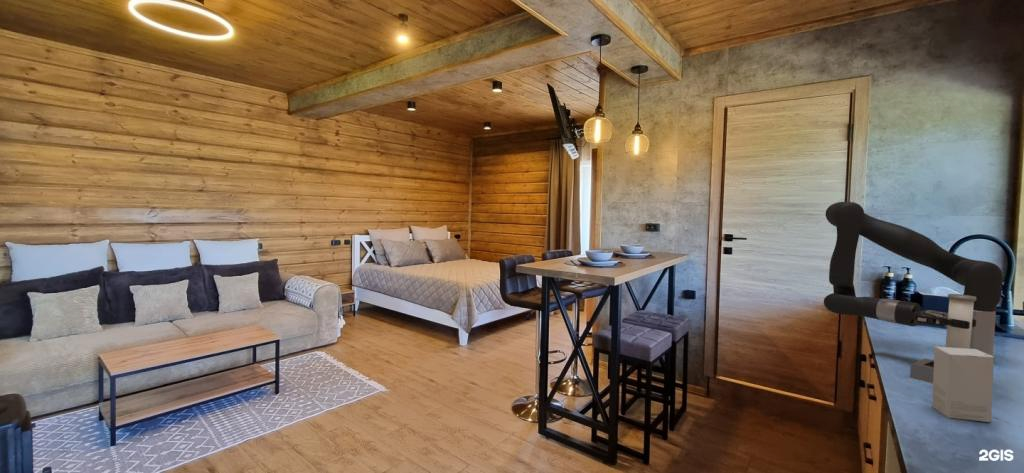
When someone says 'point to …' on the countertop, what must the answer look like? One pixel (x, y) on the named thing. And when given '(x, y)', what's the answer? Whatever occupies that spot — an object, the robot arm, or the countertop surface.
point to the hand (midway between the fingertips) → (972, 324)
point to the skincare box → (963, 383)
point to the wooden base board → (922, 370)
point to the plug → (963, 311)
